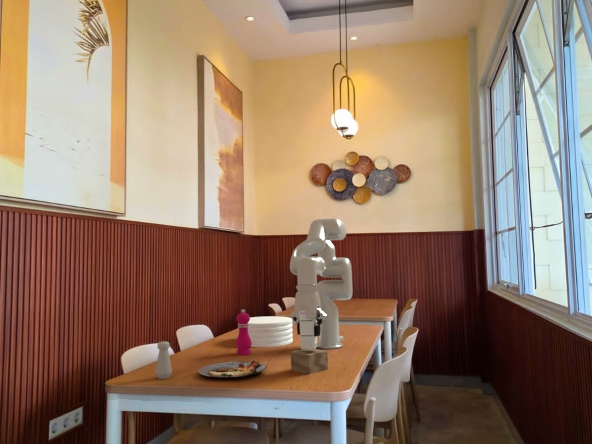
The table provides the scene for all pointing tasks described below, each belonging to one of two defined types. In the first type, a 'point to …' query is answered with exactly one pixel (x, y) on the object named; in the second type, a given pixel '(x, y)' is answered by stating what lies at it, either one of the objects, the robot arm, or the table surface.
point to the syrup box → (307, 332)
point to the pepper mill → (243, 334)
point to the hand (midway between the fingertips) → (308, 334)
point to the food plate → (233, 369)
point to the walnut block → (309, 360)
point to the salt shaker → (163, 361)
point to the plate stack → (270, 331)
